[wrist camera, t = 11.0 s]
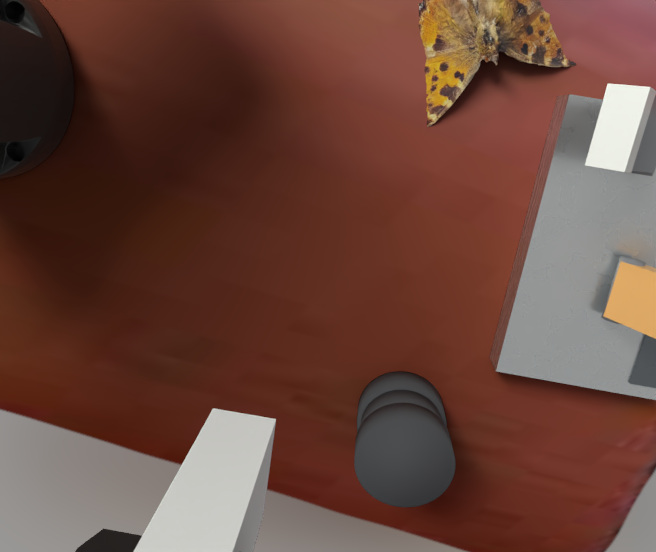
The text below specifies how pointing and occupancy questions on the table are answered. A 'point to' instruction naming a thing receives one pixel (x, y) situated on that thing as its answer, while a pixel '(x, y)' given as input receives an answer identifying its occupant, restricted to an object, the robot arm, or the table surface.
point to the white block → (625, 131)
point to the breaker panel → (578, 266)
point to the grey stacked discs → (403, 441)
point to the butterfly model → (480, 42)
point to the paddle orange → (633, 296)
